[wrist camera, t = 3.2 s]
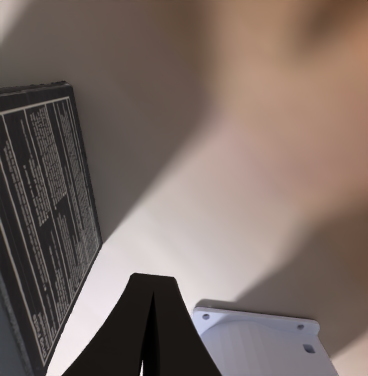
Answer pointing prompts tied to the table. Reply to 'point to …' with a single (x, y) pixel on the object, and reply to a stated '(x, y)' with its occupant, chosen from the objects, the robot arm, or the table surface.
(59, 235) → the small box
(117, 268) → the table surface
